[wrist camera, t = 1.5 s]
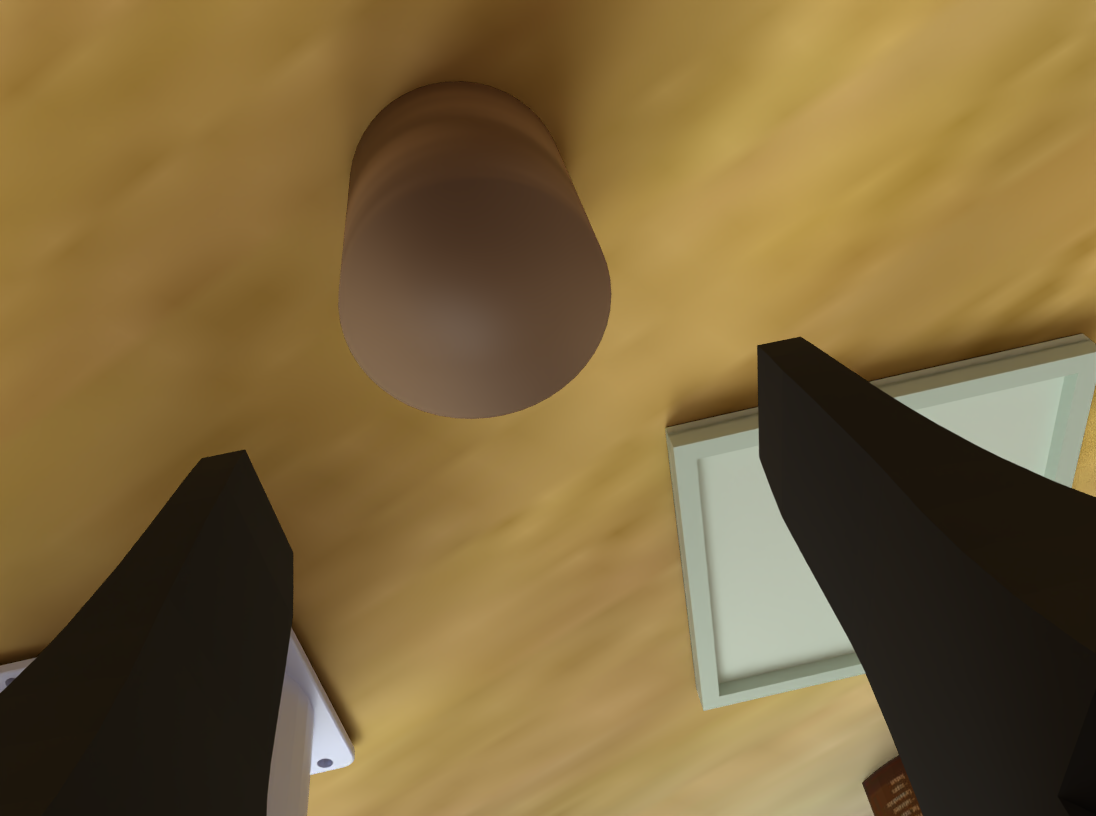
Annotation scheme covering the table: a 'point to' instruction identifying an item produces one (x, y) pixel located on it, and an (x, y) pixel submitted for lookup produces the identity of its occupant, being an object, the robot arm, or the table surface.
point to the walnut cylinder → (468, 256)
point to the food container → (891, 791)
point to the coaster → (772, 554)
